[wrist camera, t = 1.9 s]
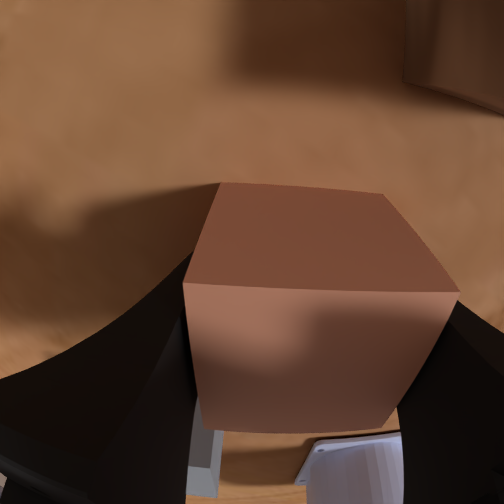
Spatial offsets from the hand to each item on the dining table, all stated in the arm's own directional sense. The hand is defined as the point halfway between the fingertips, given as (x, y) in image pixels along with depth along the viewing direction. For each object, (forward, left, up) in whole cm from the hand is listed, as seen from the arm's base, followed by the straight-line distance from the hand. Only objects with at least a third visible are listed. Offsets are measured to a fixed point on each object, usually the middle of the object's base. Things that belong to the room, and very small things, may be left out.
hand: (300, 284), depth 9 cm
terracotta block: (0, 0, -2) cm, 2 cm away
